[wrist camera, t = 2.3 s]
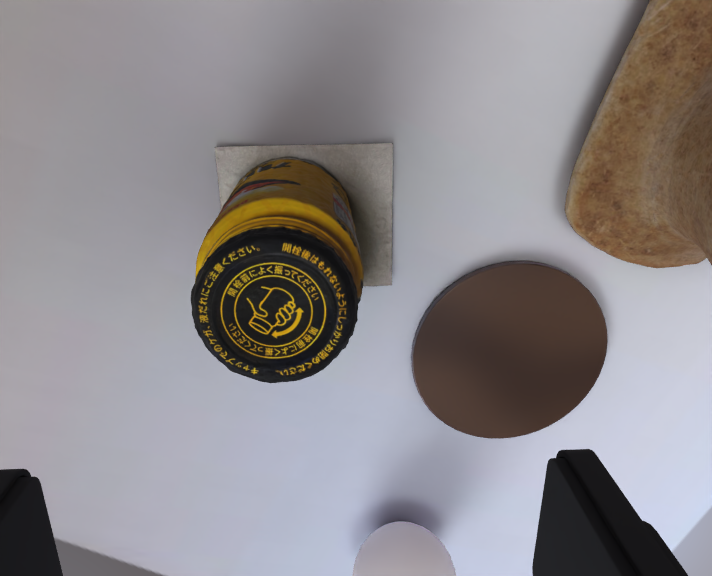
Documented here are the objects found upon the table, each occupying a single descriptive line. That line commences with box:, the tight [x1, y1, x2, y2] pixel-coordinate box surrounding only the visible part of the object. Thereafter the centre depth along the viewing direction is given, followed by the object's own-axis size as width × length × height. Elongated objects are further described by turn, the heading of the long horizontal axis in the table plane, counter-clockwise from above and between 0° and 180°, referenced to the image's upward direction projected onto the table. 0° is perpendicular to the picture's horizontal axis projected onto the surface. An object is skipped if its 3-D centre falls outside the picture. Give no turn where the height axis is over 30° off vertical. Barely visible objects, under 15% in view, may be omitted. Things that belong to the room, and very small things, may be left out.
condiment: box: [191, 143, 393, 383], centre depth 24 cm, size 7×8×12 cm
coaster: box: [411, 261, 607, 438], centre depth 33 cm, size 11×11×1 cm
